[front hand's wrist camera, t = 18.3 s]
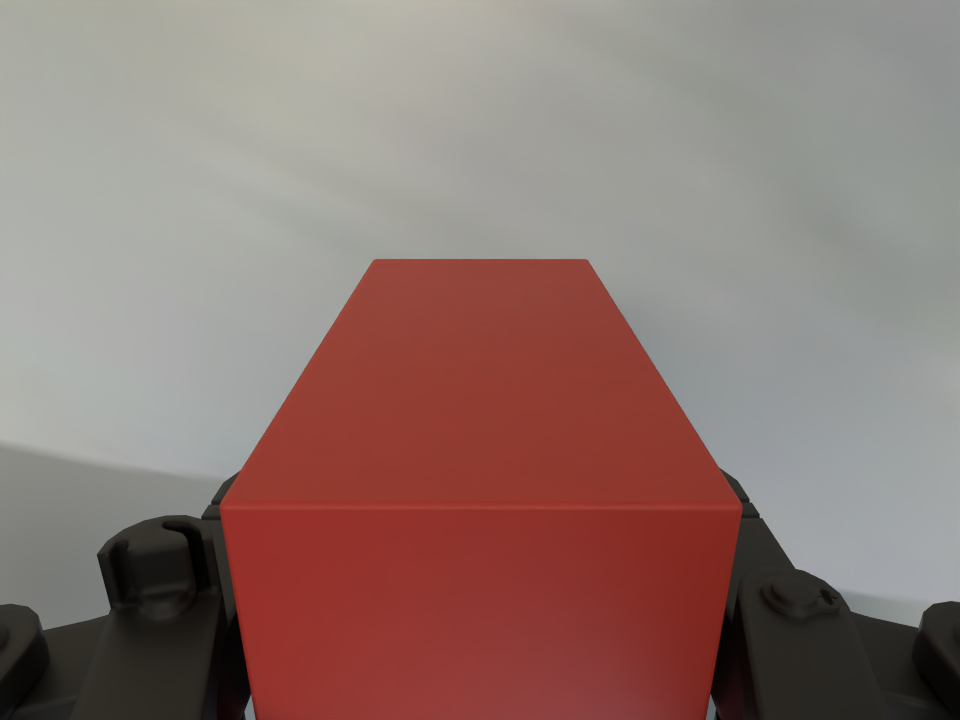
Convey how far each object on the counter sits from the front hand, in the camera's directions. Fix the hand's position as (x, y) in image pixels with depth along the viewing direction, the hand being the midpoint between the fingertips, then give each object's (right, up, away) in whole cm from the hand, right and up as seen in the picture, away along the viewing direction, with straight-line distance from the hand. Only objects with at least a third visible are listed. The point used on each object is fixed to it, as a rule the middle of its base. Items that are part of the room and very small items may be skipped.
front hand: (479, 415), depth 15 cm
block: (0, 0, +1) cm, 1 cm away
